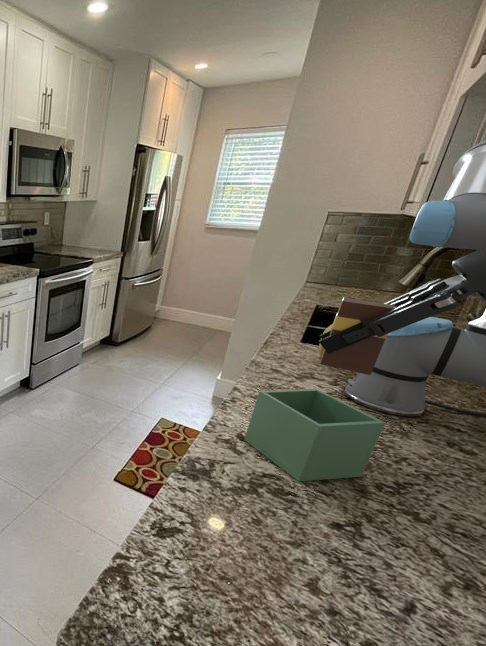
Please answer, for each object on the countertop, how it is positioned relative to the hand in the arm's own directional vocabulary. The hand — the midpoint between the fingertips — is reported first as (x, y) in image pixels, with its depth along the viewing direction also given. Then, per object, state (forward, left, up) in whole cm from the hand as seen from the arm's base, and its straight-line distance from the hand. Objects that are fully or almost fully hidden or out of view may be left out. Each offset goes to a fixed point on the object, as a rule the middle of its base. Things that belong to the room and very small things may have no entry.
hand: (324, 344), depth 76 cm
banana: (-60, -46, -24) cm, 79 cm away
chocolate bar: (-3, +3, -3) cm, 5 cm away
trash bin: (-1, +2, -24) cm, 24 cm away
